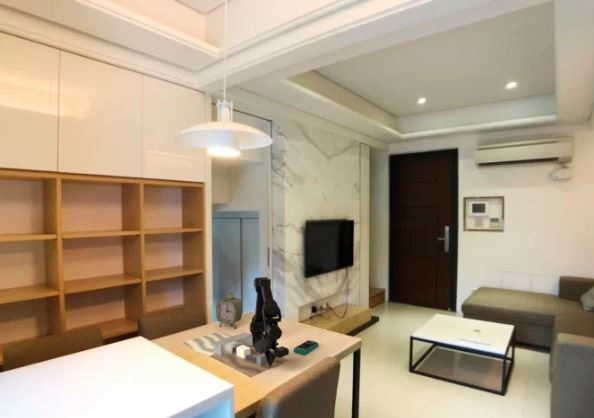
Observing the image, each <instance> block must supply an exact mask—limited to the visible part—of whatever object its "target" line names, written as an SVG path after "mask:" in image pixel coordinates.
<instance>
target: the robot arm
mask: <svg viewBox="0 0 594 418" xmlns="http://www.w3.org/2000/svg"><path fill="white" fill-rule="evenodd" d="M253 288H254V290H255V292H256V300H255V311H254V315H252V318H251V321H250V322H249V323H250V324H249V332H250V333H249V334H251V335H252V345H253V347H254V348H255V351H256V352H258V353H260V354H263V353H264V354H265V356H266V358H267V362H268V365H269V366H272V364H273V362H274V360H275V358H276V357H278V358H285V357H286V356H288V355H290V349H289V348H288V347H285V346H282V345H281V346H279V342H278V340H279V339H280V338H282V335H283V331H282V328H280V326H279V323H281V322H282V312H281V308H280V307H279V304H278V303H277V301H276V300H275V299H274V296H273V291H272V279H271V278H269V277H267V276H262V277H261V276H260V277H254V279H253Z"/></svg>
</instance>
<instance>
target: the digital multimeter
mask: <svg viewBox="0 0 594 418" xmlns="http://www.w3.org/2000/svg"><path fill="white" fill-rule="evenodd" d="M318 346H319V342H317V341H315V340H310V339H309V340H308V339H307V340H306V341H304V342H303V343H301V344H299V345H297V346H296V347H294V348H293V353H295V354H298V355H301V356H307V355H308V354H309V353H311V352H313V351H314V350H315V348H316V347H317V348H319V347H318ZM317 348H316V349H317Z"/></svg>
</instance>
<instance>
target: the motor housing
mask: <svg viewBox="0 0 594 418" xmlns="http://www.w3.org/2000/svg"><path fill="white" fill-rule="evenodd" d="M231 336H232V337H229V338H226V339H222V340H219V341H216V342H214V356H216V357H218V358H220V359H222V358H224V357H227V356H230V355H232V348H233V344H235V348H236V349H237V347H238V346H241V345H244V346H247V347H249V348H252V345H253V343H252V333H248V332H241V333H239V334H238V333H237V334H235V335H231Z"/></svg>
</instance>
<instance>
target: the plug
mask: <svg viewBox="0 0 594 418" xmlns="http://www.w3.org/2000/svg"><path fill="white" fill-rule="evenodd" d="M250 349H251V348H249V347H247V346H244V345H241V346H238V347H237V349H236V350H237V354H236V355H237V356H239V357H242V358H244V359H245V358H247V359H249V360H251V361H254V362H256V363H257V365H259V366H262V365H265V364H266V360H267V358H266V356H265V354H260V355H257V358H255V357H253V356H251V355H250Z"/></svg>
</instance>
